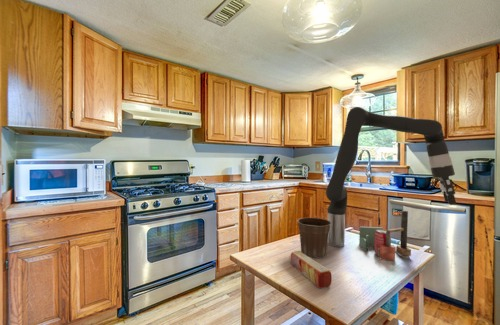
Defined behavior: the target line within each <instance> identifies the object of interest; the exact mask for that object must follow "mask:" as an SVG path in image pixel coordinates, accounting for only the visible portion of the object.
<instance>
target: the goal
mask: <svg viewBox="0 0 500 325" xmlns="http://www.w3.org/2000/svg"><path fill="white" fill-rule="evenodd" d="M378 229H381V230H384V228H383V227H379V226H378V227H374V226H359V236H358V238H359V239H358V240H359V241H358V242H359V243H358V244H359V246H360V247H362V249H363V250H364V251H366V252H369V247H371V246H372V247H374V240H375V233H376V230H378Z"/></svg>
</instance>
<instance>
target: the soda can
mask: <svg viewBox="0 0 500 325" xmlns="http://www.w3.org/2000/svg"><path fill="white" fill-rule="evenodd" d="M387 230H388V229H383V230H381V229H378V230H376V233H375V240H374V246H373V247H374V248H373V250H374V254H375V255H376V256H377V257H380V245H385V246H386V231H387ZM391 245H392V236H391V234H390V246H391Z"/></svg>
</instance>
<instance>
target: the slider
mask: <svg viewBox="0 0 500 325" xmlns="http://www.w3.org/2000/svg"><path fill="white" fill-rule="evenodd" d="M400 216H401V218H400V220H401V221H400V222H401V223H400V227H398V228H391V229H386V230H387V231H386V246H385V245H380V256H379V259H381V260H385V261H386V260H388V261H395V260H396V253H395V247H397V249H396V251H397V252H398V253H399V254H401V255H402V256H411V257H412V250H411V249H410V248H409V247H408V225H409V224H408V223H409V221H408V219H409V218H408V217H409V211H407V210H401V214H400ZM396 232H400V245H396V246H395V245H394V246H395V247H394V246H390V235H391V233H396Z"/></svg>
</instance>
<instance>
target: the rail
mask: <svg viewBox="0 0 500 325" xmlns="http://www.w3.org/2000/svg"><path fill="white" fill-rule="evenodd" d="M391 246H394V247H395V254H397V255H398V256H399V257H401V258H402V259H410V258H411V257H410V256H402V255H401V254H399V253H398V252H397V251H396V249H397V246H396V245H394V244H391Z"/></svg>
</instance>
